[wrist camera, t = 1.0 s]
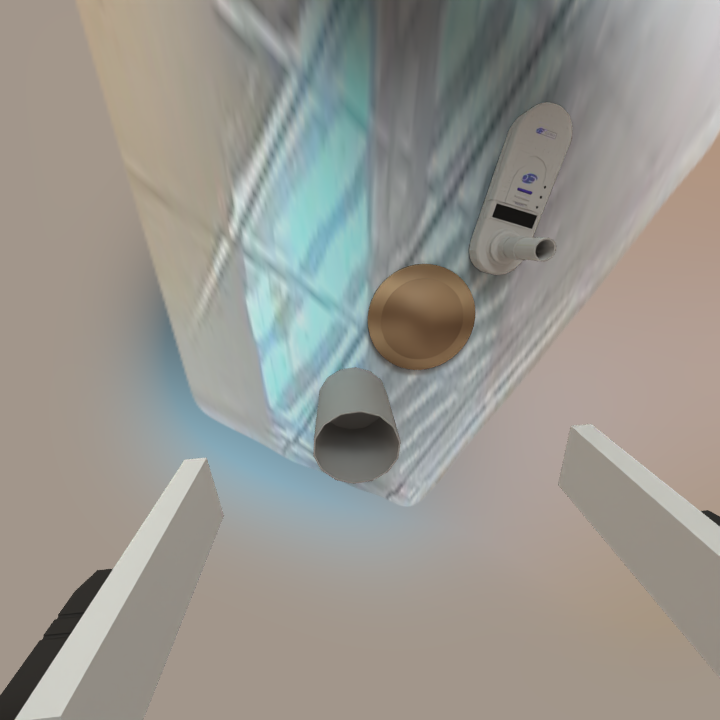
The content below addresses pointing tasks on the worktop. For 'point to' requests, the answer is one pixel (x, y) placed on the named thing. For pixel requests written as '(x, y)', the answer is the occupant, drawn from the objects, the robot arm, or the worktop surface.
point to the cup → (355, 427)
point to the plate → (421, 316)
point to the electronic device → (521, 191)
